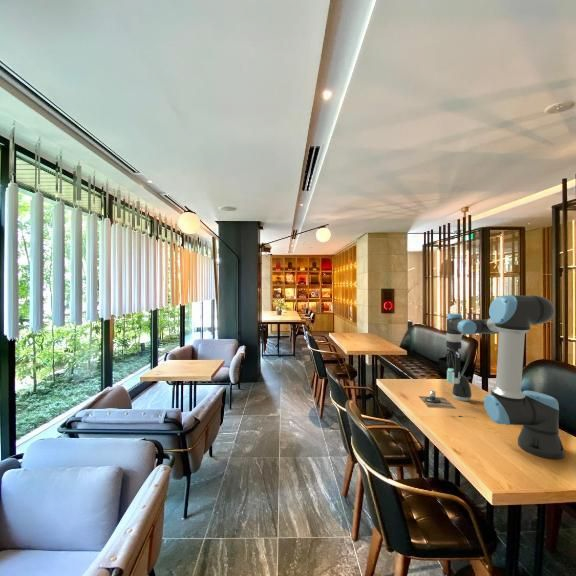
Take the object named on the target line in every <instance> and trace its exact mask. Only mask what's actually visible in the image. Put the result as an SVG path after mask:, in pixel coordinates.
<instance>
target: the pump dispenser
mask: <svg viewBox="0 0 576 576" xmlns="http://www.w3.org/2000/svg"><path fill="white" fill-rule="evenodd" d="M471 379H472V377H471V376H467V377H466V376H465V375H461V374H460V383H459V384H452V385H453V386H452V391H451V392H452V396H453V398H454V399H455V400H457V401H460V402H469V401H470V400H471V398H472V387H471V385H470V381H469V380H471Z"/></svg>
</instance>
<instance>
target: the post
mask: <svg viewBox="0 0 576 576" xmlns="http://www.w3.org/2000/svg"><path fill="white" fill-rule="evenodd" d="M436 393H437V392H436V391H435V390H429V396H425V397H426V398H425V400H426V401H427V402H430V403H440V399H438V398H436V397H437V396H436Z"/></svg>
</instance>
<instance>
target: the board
mask: <svg viewBox="0 0 576 576" xmlns="http://www.w3.org/2000/svg"><path fill="white" fill-rule="evenodd" d="M418 397H419V399H420V400H421V401H422V402H423V403H424V404H425V405H426V407H427V408H431V409H432V408H433V409H451V410H452V409H453V410H457V408H456V407H455V406H454V405H453V404H452V403H451V402H450V401H449V400H447V399H446V398H445V397H443V396H441V397H439V396H436V398H438V399H440V403H430V402H427V401H426V400H425V398H426V397H427V396H426V395H425V396H424V395H423V396H421V395H420V396H418Z"/></svg>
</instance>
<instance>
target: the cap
mask: <svg viewBox="0 0 576 576" xmlns="http://www.w3.org/2000/svg"><path fill="white" fill-rule="evenodd" d="M452 371H454V368H448V367H447V370H446V382H448V383H449V384H452V385H454V383H453V372H452ZM460 375H461V372H459V380H458V384H459V383H460Z"/></svg>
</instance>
